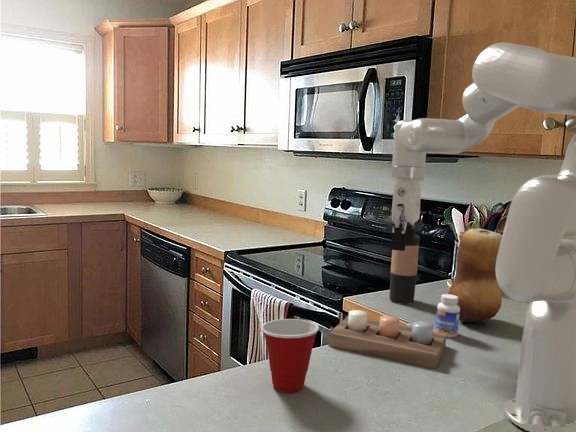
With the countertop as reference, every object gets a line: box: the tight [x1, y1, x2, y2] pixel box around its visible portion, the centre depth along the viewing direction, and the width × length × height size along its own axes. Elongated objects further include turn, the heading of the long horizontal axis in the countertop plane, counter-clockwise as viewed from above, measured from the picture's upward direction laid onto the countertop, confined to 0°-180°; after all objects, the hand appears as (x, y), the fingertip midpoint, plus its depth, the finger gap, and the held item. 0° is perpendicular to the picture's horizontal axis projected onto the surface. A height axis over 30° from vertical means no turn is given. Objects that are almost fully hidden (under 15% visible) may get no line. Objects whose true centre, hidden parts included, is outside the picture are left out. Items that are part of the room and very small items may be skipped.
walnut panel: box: [328, 315, 447, 369], centre depth 119 cm, size 14×24×3 cm, turn 65°
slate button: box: [411, 321, 434, 345], centre depth 116 cm, size 4×4×4 cm
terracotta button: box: [379, 315, 400, 339], centre depth 119 cm, size 4×4×4 cm
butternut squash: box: [447, 227, 503, 324], centre depth 138 cm, size 14×13×25 cm
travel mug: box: [389, 233, 420, 305], centre depth 154 cm, size 8×8×20 cm
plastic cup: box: [260, 318, 320, 394], centre depth 97 cm, size 11×11×12 cm
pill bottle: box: [434, 293, 460, 338], centre depth 128 cm, size 5×5×10 cm
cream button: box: [348, 309, 368, 332], centre depth 122 cm, size 4×4×4 cm
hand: (402, 246), depth 123 cm, fingers open, 8 cm apart
